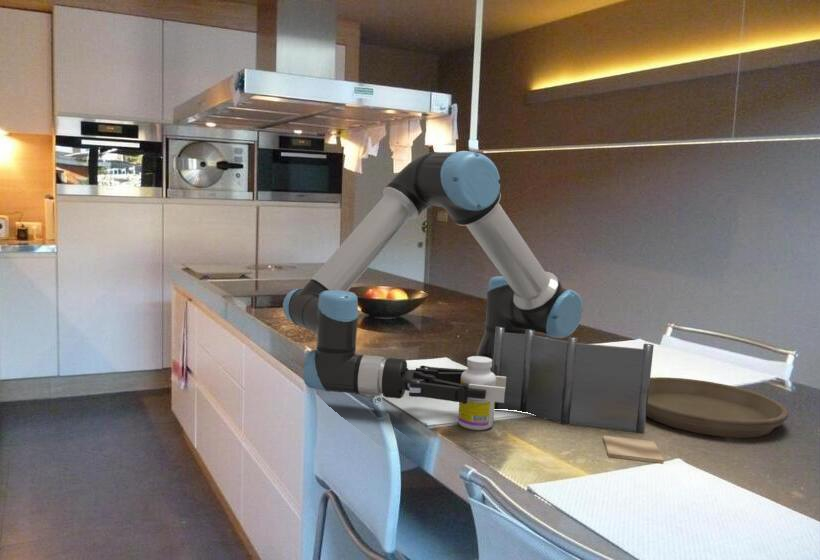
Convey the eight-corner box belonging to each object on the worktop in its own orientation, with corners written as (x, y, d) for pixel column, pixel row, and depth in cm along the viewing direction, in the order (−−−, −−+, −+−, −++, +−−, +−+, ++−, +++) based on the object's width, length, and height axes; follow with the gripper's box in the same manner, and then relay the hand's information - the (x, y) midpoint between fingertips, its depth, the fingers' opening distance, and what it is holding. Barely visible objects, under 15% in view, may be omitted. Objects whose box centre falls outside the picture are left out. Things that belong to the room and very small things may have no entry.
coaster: (602, 438, 125) (603, 435, 125) (653, 444, 124) (654, 441, 124) (608, 456, 117) (608, 453, 117) (663, 463, 115) (663, 459, 115)
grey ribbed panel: (489, 407, 140) (495, 326, 138) (640, 423, 135) (649, 339, 133) (488, 416, 134) (494, 331, 132) (645, 433, 130) (654, 346, 127)
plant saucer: (669, 387, 165) (671, 368, 164) (809, 424, 142) (812, 403, 141) (596, 409, 144) (598, 388, 143) (746, 457, 121) (749, 432, 121)
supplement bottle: (470, 416, 133) (475, 352, 132) (499, 425, 129) (504, 359, 128) (450, 424, 128) (455, 358, 127) (480, 434, 124) (485, 365, 122)
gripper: (393, 382, 141) (505, 393, 137) (371, 411, 122) (501, 426, 118) (395, 346, 140) (508, 357, 136) (373, 370, 121) (504, 384, 117)
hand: (504, 389), depth 127 cm, fingers closed on supplement bottle, 7 cm apart
